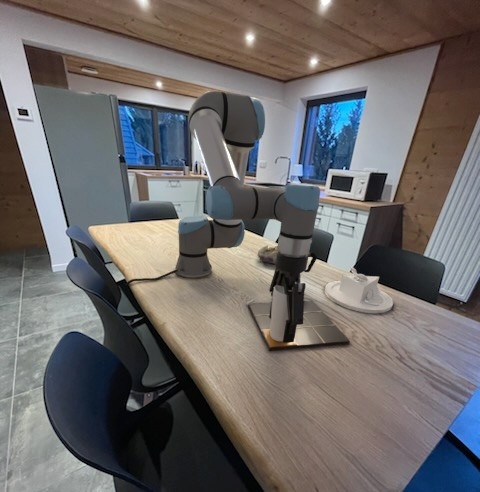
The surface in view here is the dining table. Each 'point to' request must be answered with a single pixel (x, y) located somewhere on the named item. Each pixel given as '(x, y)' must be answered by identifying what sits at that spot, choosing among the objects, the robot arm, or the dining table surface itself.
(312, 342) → the board
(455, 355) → the dining table surface
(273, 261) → the geode
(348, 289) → the dish
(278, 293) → the drinking glass
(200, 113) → the robot arm
